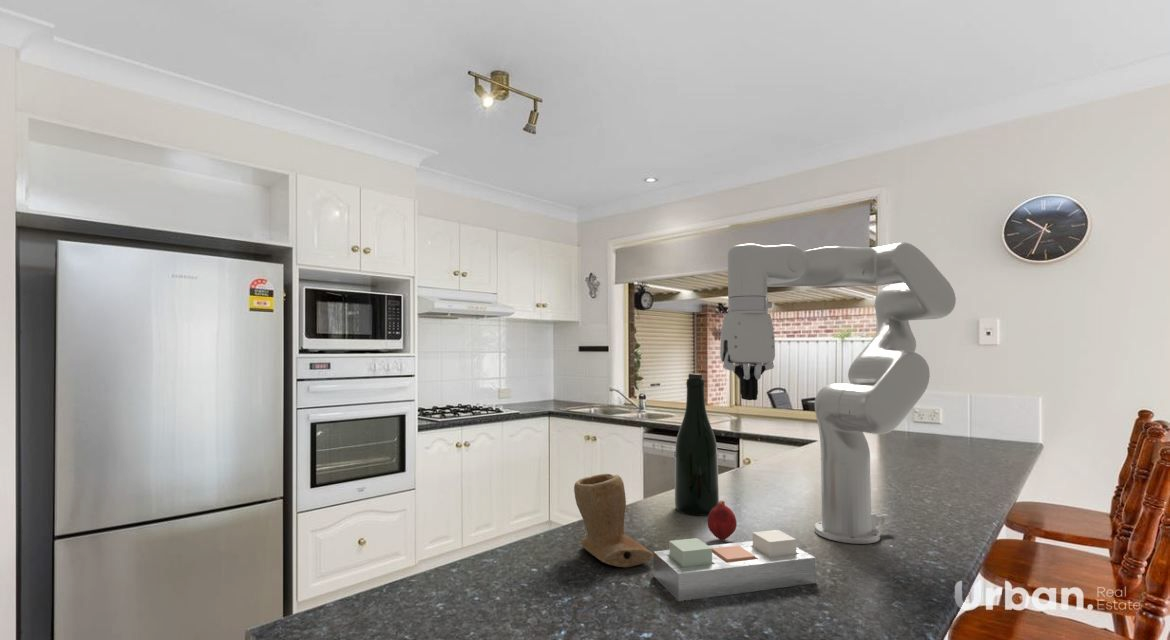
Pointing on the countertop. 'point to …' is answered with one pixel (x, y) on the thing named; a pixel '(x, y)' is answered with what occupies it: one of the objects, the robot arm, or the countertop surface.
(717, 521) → the onion
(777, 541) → the cream key
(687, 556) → the sage key
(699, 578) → the keypad housing
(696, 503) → the green wine bottle
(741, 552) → the terracotta key
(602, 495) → the brown hollow boot-shaped piece
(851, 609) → the countertop surface
